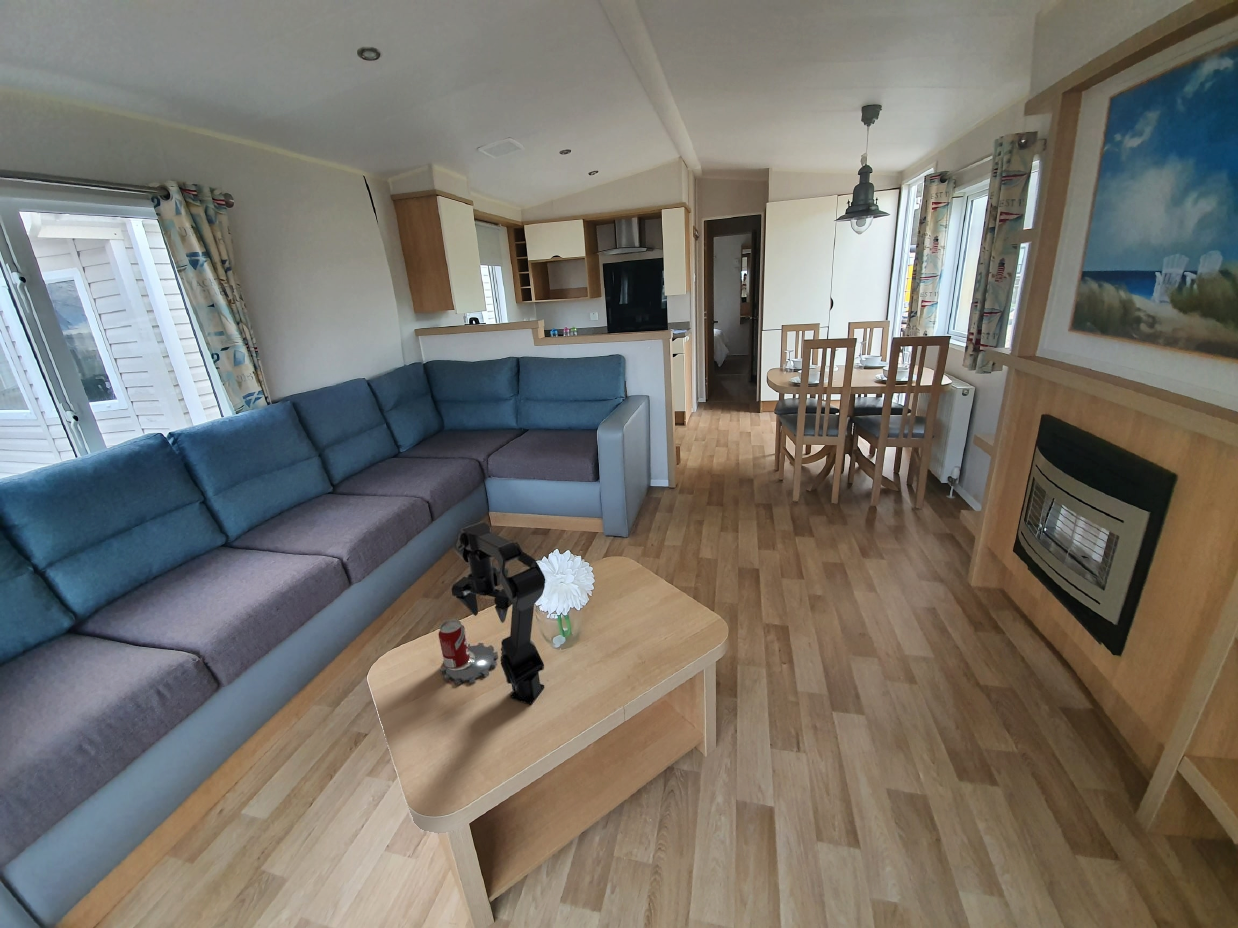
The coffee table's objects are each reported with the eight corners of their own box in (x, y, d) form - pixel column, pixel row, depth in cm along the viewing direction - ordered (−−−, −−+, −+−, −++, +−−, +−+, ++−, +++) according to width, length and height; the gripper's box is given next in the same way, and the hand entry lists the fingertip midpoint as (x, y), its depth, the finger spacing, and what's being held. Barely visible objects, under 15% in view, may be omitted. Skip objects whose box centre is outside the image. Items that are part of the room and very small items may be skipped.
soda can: (453, 674, 131) (446, 637, 127) (440, 663, 135) (432, 627, 131) (475, 660, 136) (468, 623, 132) (461, 650, 140) (454, 614, 136)
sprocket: (508, 653, 140) (508, 649, 139) (474, 691, 127) (473, 687, 126) (467, 641, 146) (466, 637, 145) (429, 676, 133) (429, 672, 132)
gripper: (528, 559, 132) (534, 608, 138) (473, 548, 140) (481, 595, 145) (503, 580, 123) (511, 632, 128) (445, 568, 130) (455, 617, 135)
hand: (489, 618), depth 134 cm, fingers open, 9 cm apart
